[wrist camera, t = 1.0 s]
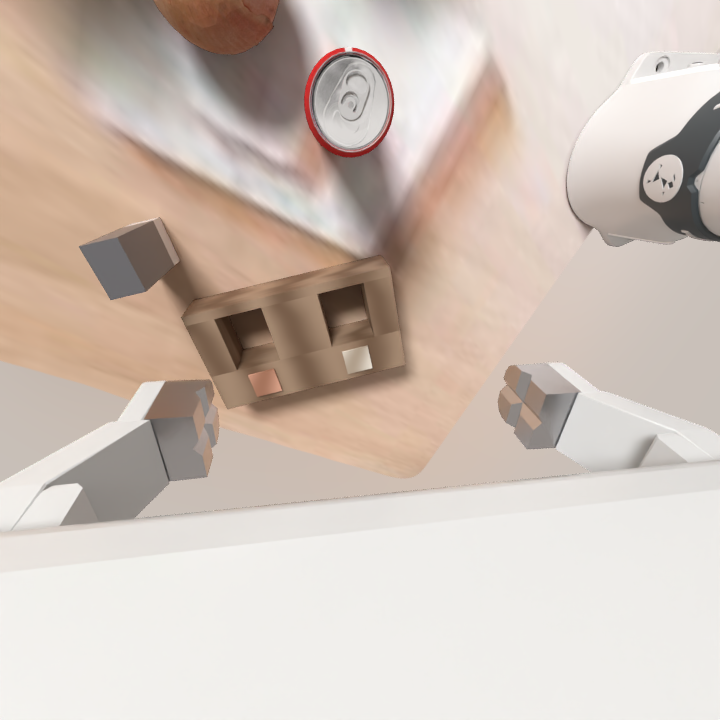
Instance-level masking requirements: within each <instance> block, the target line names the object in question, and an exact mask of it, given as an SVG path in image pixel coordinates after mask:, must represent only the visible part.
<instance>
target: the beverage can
mask: <svg viewBox="0 0 720 720" xmlns="http://www.w3.org/2000/svg"><path fill="white" fill-rule="evenodd" d="M304 107H305V114H306V119H307V122H308V124H309V127H310V130H311V131H312V133H313V135H314V137H315V138H316V139H317V141H318V142H319V143H320V144H321V145H322V146H323V147H324V148H326V149H327V150H328V151H330V152H332V153H333V154H335V155H338V156H342V157H358V156H362V155H364V154H367V153H369V152H370V151H372V150H373V149H375V148H376V147H377V146H378V145H379V144H380V143H381V142H382V140H383V139H384V137H385V136H386V134H387V132H388V130H389V127H390V125H391V122H392V118H393V113H394V94H393V89H392V85H391V82H390V79H389V77H388V75H387V72H386V71H385V69H384V68H383V66H382V65H381V63H380V62H379V61H377V60H376V59H375V58H374V57H373V56H372V55H370V54H369V53H367V52H366V51H363V50H360V49H357V48H350V47H345V48H339V49H336V50H334V51H332V52H329V53H328V54H326V55H325V56H324V57H323V58H321V59H320V60H319V62H318V63H317V64H316V65H315V66H314V68H313V70H312V72H311V74H310V76H309V78H308V81H307V84H306V89H305V96H304Z"/></svg>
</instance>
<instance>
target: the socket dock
mask: <svg viewBox="0 0 720 720" xmlns="http://www.w3.org/2000/svg"><path fill="white" fill-rule="evenodd" d="M356 284H360V286H361V290H362V295H363V300H364V305H365V310H366V314H367V319H366V320H362V321H358V322H354V323H350V324H346V325H342V326H338V327H334V328H330V329H329V327H328V324H327V320H326V317H325V313H324V309H323V306H322V302H321V298H320V295H319V294H320V293H324V292H328V291H332V290H336V289H340V288H344V287H348V286H352V285H356ZM258 308H261V309H262V312H263V315H264V317H265V320H266V323H267V325H268V328H269V331H270V333H271V336H272V339H273V343H269V344H265V345H261V346H257V347H253V348H249V349H245V350H243V348H242V346H241V344H240V341H239V339H238V337H237V334H236V332H235V330H234V327H233V325H232V323H231V320H230V318H229V316H230V315H234V314H238V313H242V312H246V311H250V310H254V309H258ZM181 318H182V320H183V322H184V324H185V326H186V328H187V330H188V332H189V334H190V336H191V338H192V340H193V342H194V344H195V346H196V348H197V350H198V352H199V354H200V356H201V358H202V360H203V362H204V364H205V366H206V368H207V370H208V372H209V374H210V376H211V378H212V380H213V382H214V384H215V386H216V388H217V390H218V392H219V394H220V396H221V398H222V400H223V402H224V404H225V406H226V408H227V409H231V408H235V407H239V406H243V405H247V404H251V403H255V402H259V401H263V400H267V399H271V398H275V397H279V396H283V395H287V394H291V393H295V392H299V391H303V390H307V389H311V388H315V387H319V386H323V385H327V384H331V383H335V382H339V381H343V380H347V379H351V378H355V377H359V376H363V375H367V374H371V373H375V372H379V371H383V370H387V369H391V368H395V367H399V366H403V365H405V358H404V352H403V346H402V340H401V333H400V327H399V321H398V314H397V308H396V302H395V295H394V289H393V283H392V277H391V270H390V266H389V265H388V264H387V262H386V261H385V260H384V258H383V257H382V256H381V255H378V256H374V257H370V258H366V259H361V260H357V261H353V262H349V263H345V264H341V265H337V266H333V267H329V268H324V269H320V270H316V271H312V272H308V273H304V274H300V275H296V276H291V277H287V278H283V279H279V280H275V281H271V282H267V283H263V284H259V285H254V286H250V287H246V288H242V289H238V290H234V291H230V292H226V293H221V294H217V295H213V296H209V297H205V298H201V299H197V300H193V302H192V303H191V305H190V306H189V307H188V309H187V310H186V312H185V313H184V314H183V316H182V317H181Z"/></svg>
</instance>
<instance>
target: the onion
mask: <svg viewBox="0 0 720 720" xmlns="http://www.w3.org/2000/svg"><path fill="white" fill-rule="evenodd" d="M153 1H154V3H155V4H156V6H157V8H158V9H159V11H160V12H161V13H162V15H163V16H164V17H165V18H166V20H167V21H168V22H169V23H170V24H171V25H172V27H173V28H174V29H175V30H176V31H178V32H179V33H180V34H181V35H182V36H183V37H184V38H185V39H187V40H188V41H189V42H191V43H193V44H194V45H196V46H198V47H200V48H202V49H204V50H207V51H209V52H212V53H217V54H231V55H235V54H239V53H242V52H245V51H247V50H249V49H250V48H252V47H253V46H255V45H256V46H257V45H258V44H259V42H261V41H262V40H263V39H264V38H265V37H266V35H267V34H268V33H269V32H270V31H271V30H272V28H273V27H274V26H273V24H272V22H273V20H274V17H275V14H276V10H277V7H278V4H279V0H153Z"/></svg>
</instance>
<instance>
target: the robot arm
mask: <svg viewBox="0 0 720 720" xmlns="http://www.w3.org/2000/svg"><path fill="white" fill-rule="evenodd" d="M657 64H658V69H657V71H656V66H657ZM567 192H568V198H569V201H570V204H571V207H572V209H573V211H574V212H575V214H576V215H577V216H578V218H580V219H581V220H582V221H583V222H584V223H586V224H588V225H590V226H591V227H593V228H595V229H597V230H598V231H599V232H600V234H601V236H602V238H603V240H604V241H605V242H606V243H607V244H608V245H610V246H616V247H619V246H622V245H624V244H626V243H629V242H631V241H633V240H641V241H647V242H653V243H659V244H673V243H674V242H675V241H677V240H681V239H683V238H686V237H688V236H689V237H691V238H695V239H699V240H705V241H718V242H720V53H699V52H666V51H653V52H646V53H643V54H642V55H640V56H639V57H638V58H637V59H636V60H635V62H634V63H633V65H632V66H631V68H630V69H629V71H628V73H627V74H626V76H625V78H624V79H623V81H622V83H621V85H620V86H619V88H618V89H617V90H616V91H615V92H614V93H613V94H612V95H611V96H610V97H609V98H608V99H607V100H606V101H605V102H604V103H603V104H602V105H601V106H600V107H599V108H598V109H597V111H596V112H595V113H594V114H593V115H592V117H591V118H590V119H589V121H588V122H587V124H586V125H585V127H584V128H583V130H582V132H581V134H580V136H579V137H578V140H577V142H576V144H575V146H574V149H573V152H572V155H571V158H570V162H569V167H568V173H567ZM504 380H505V382H506V384H507V385H506V386H505V387H504V388H503V389H502V390H501V391H500V394H499V398H498V407H499V412H500V414H501V417H502V418H503V419H504V421H505V422H506V423H508V424H510V425H511V426H513V427H515V430H514V434H515V435H516V436H517V437H518V439H519V440H520V441H521V442H522V444H523V445H524V446H525V447H526V449H541V448H556V450H558V451H559V452H561V453H563V454H564V455H566V456H567V457H569V458H570V459H572V460H573V461H575V462H576V463H578V464H580V465H581V466H583V467H584V468H586V469H587V470H589V471H590V472H591V473H582V474H572V475H562V476H552V477H542V478H533V479H523V480H512V481H502V482H492V483H482V484H472V485H463V486H453V487H443V488H433V489H423V490H413V491H403V492H394V493H384V494H374V495H364V496H354V497H344V498H334V499H324V500H314V501H304V502H295V503H284V504H274V505H264V506H255V507H245V508H234V509H224V510H214V511H205V512H195V513H185V514H175V515H165V516H155V517H145V518H135V517H136V516H137V515H138V514H139V513H140V512H141V511H142V510H143V509H144V508H145V507H146V506H147V505H148V504H149V503H150V502H151V501H152V500H153V499H154V498H155V497H156V496H157V495H158V494H159V493H160V492H161V491H162V490H163V489H164V488H165V487H166V486H167V485H168V484H169V481H177V480H186V479H195V478H204V477H207V476H208V472H209V469H210V466H211V462H212V459H213V455H212V450H211V448H212V447H213V446H214V445H216V444H217V440H218V434H219V415H218V410H217V408H216V407H215V406H214V405H213V404H212V400H213V397H214V390H213V385H212V382H211V381H210V380H175V381H150V382H144V383H142V384H141V386H140V387H139V389H138V390H137V392H136V393H135V395H134V396H133V398H132V399H131V401H130V402H129V404H128V405H127V407H126V408H125V410H124V411H123V413H122V414H121V416H120V417H119V419H118V420H117V422H109V423H107V424H105V425H103V426H101V427H100V428H98V429H96V430H94V431H92V432H91V433H89V434H87V435H85V436H83V437H82V438H80V439H78V440H76V441H74V442H73V443H71V444H69V445H67V446H66V447H64V448H62V449H60V450H58V451H56V452H55V453H53V454H51V455H49V456H47V457H45V458H44V459H42V460H40V461H38V462H37V463H35V464H33V465H31V466H29V467H27V468H26V469H24V470H22V471H20V472H19V473H17V474H15V475H13V476H11V477H9V478H8V479H6V480H4V481H2V482H1V483H0V720H720V436H719V435H717V434H716V433H714V432H713V431H712V430H710V429H708V428H705V427H703V426H700V425H697V424H694V423H691V422H689V421H686V420H683V419H681V418H678V417H675V416H672V415H670V414H667V413H664V412H661V411H658V410H656V409H653V408H650V407H648V406H645V405H642V404H639V403H637V402H634V401H631V400H628V399H625V398H623V397H620V396H617V395H614V394H612V393H609V392H606V391H601V392H600V391H599V390H598V389H597V388H595V387H594V386H593V385H591V384H590V383H588V382H587V381H586V380H585V379H584V378H582V377H581V376H580V375H578V374H577V373H576V372H574V371H573V370H572V369H571V368H569V367H568V366H567V365H565V364H564V363H561V362H551V363H540V364H527V365H513V366H509V367H508V369H507V370H506V373H505V376H504ZM134 518H135V519H134Z"/></svg>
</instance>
